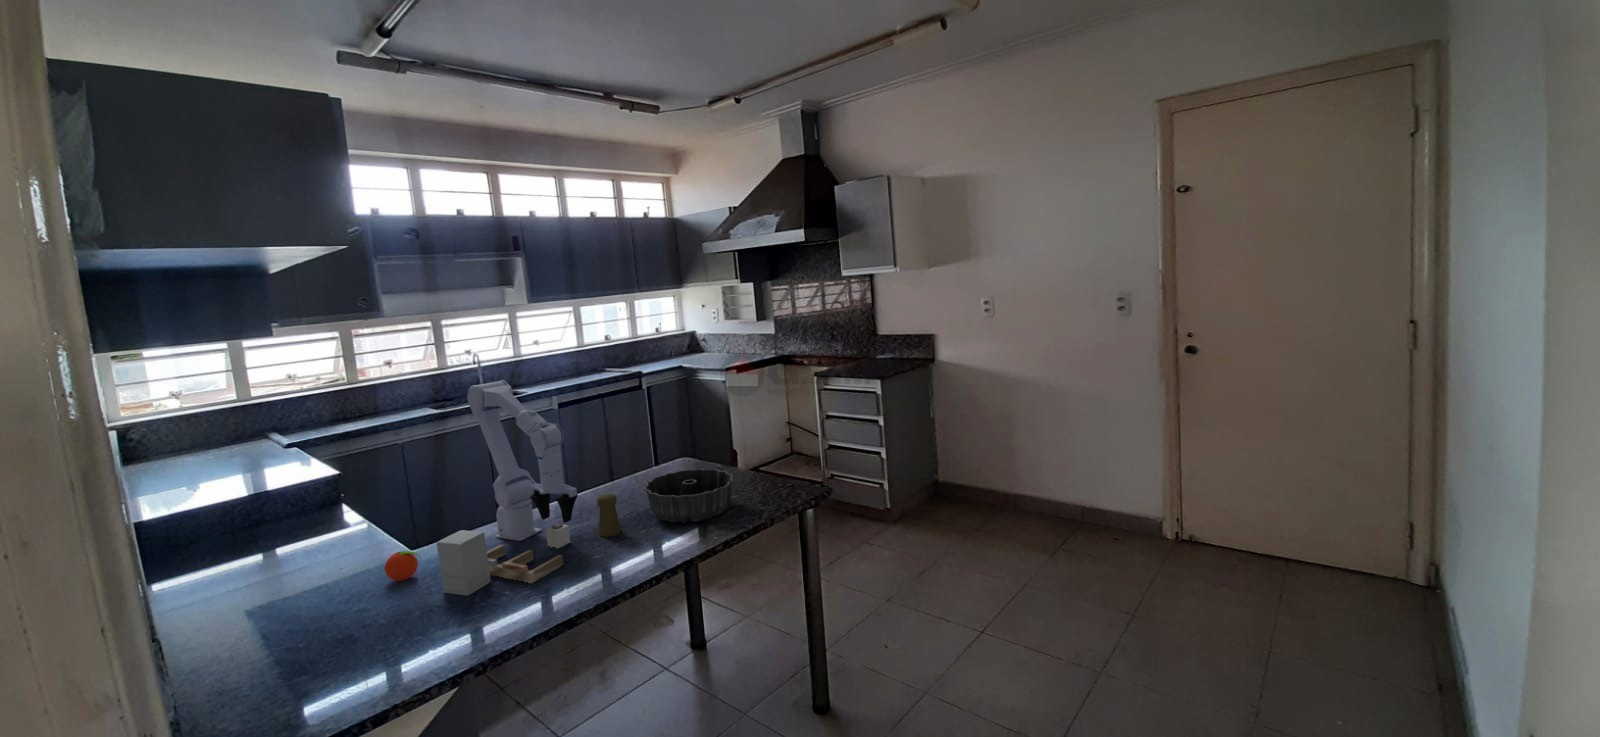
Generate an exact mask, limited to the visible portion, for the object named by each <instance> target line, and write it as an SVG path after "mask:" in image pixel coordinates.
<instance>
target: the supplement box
mask: <svg viewBox="0 0 1600 737" xmlns="http://www.w3.org/2000/svg"><path fill="white" fill-rule="evenodd" d="M486 543H487V542H486V536H485V532H484V531H474V530H473V531H472V530H467V529H466V530H464V529H460V530H459V531H456V532H454V533H452V534H450V535H448V536H446V537H444V538H442V539H440V540H438V541H436V548H437V555H438V561H439V569H440V575H441V576H440V577H441V584H442V590H443V593H444V594H453V595H458V596H459V595H460V596H465V597H469V595H471V594H473V593H475V592H477V591H478V590H480V589H482V588H483V587H485V586H486V585H488V584H490V583H491V575H490V571H489V564H488V557H487V551H488V550H487V544H486Z"/></svg>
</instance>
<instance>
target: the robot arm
mask: <svg viewBox="0 0 1600 737" xmlns="http://www.w3.org/2000/svg"><path fill="white" fill-rule="evenodd" d="M466 399H467V402H468V405H469V407H470V410H471V412H472V414H473V417H475V418H476V419H477V421H478V423H479V426H480V429H481V431H482V435H483V436H484V439H485V443H486V444H487V446H488V449H489V452H490V454H491V457H492V459H493V461H494V465H495V467H496V471H497V473H498V476H497V478H495V481H494V482H493V483H492V484H493V485H492V487H493V489H494V490H493V491H494V499H495V501H496V503H497V505H499V506H498V508H497V510H496V512H495V513H496V515H495V516H496V524H497V533H498V534H496V536H495V537H496V538H501V539H506V540H511V541H519V542H522V541H524V540H526V539H528V538H530V537H531V536H533V535H535V534H538V533H540V532H541V531H542V530H543V529H542V528H539V527H535V521H534V512H533V511H534V510H533V503H534V505H535V506H536V508H537V510H538V512H539V515H540V518H541V520H546V519H548V518H550V515H551V512H550V511H551V508H550V507H551V506H550V500H551V495H558V496H560V497H558V498H556V502H557V504H558V506H559V508H560V511H561V512H560V513H561V518H562V522H563V523H565V524H566V523H568V522H570V521H571V520H572V515H573V510H574V505H575V503H576V501H577V499H578V496H579V494H578V490H577V487H573V486H571V485H568V484H565V481H564V480H565V479H564V472H563V461H562V452H561V445H562V444H563V443H564V441H565V434H564V431H563V429H562V428H561V426H560V425H559V424H558V423H552V422H548V421H547V420H545V419H544V418H543V417H542V416H541V415H540V414H539V413H538V412H537V411H536V410H534V409H527V408H526V407H524V405H523V404H522V403H521V402H520V401H519V400H518V398H517V397H515V395H514V394H513V390H512V386H511V385H510V384H509V383H508V382H507V381H506V380H504V379H500V380H498V381H491V382H487V383H482V384H474V385H473V384H472V385H471V386H470V387H469V388H468V392H467V395H466ZM503 411H506V412H507V413H508V414H509V415H511V417H513V418H515V419H516V422H515V424H516V425H517V427H518V428H519V429H521V431H523V433H525V434H526V435H527V436H528V437H529V438H530V444H531V445H532V448H534V454H535V456H536V457H537V462H538V463H537V464H538V471H539V480H540V483H537V482H536V481H535V480H534V479H533V478H532V476H531V474H530V472H529V470H525V469H523V468H521V467H519V465H518V463H517V460H516V457H515V455H514V453H513V450H512V447H511V444H510V442H509V440H508V437H507V435H506V433H505V428H504V426H503V425H502V422H501V419H500V414H501V413H502V412H503Z"/></svg>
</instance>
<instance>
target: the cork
mask: <svg viewBox="0 0 1600 737" xmlns="http://www.w3.org/2000/svg"><path fill="white" fill-rule="evenodd" d="M596 503H597V506H598V508H599V518H598V521H599V522H598V536H599V535H600V537H601V536H603V537H602V538H611V537H615V536H617V535H619V534H621V531H622V530H621V525H620V522H619V517H618V512H617V508H616V504H617V497H616V495H615V494H614V493H605V494H601V495H599V496H598V497H597V499H596ZM614 535H615V536H614ZM608 536H609V537H608ZM610 536H611V537H610Z"/></svg>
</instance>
